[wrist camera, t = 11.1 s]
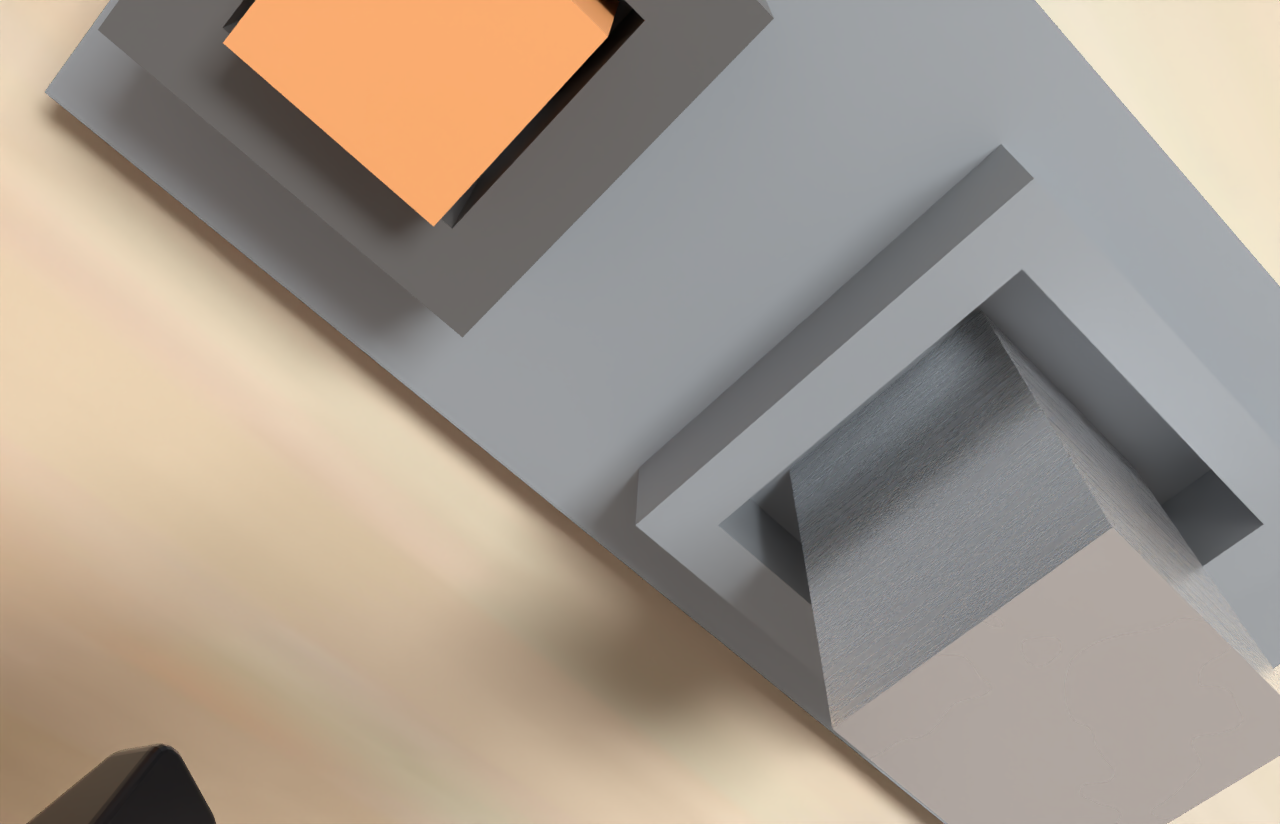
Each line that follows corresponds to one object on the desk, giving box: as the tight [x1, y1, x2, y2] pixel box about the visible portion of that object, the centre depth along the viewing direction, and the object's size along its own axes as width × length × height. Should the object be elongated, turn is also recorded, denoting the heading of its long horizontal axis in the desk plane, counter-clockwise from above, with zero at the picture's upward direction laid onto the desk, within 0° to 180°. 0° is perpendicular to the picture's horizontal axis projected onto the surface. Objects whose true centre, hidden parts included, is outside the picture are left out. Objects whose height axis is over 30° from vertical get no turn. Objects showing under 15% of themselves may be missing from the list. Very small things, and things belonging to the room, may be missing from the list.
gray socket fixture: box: [45, 0, 1280, 824], centre depth 20 cm, size 24×12×4 cm, turn 46°
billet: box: [790, 310, 1280, 824], centre depth 19 cm, size 4×4×7 cm
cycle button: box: [223, 0, 619, 226], centre depth 16 cm, size 3×3×3 cm
